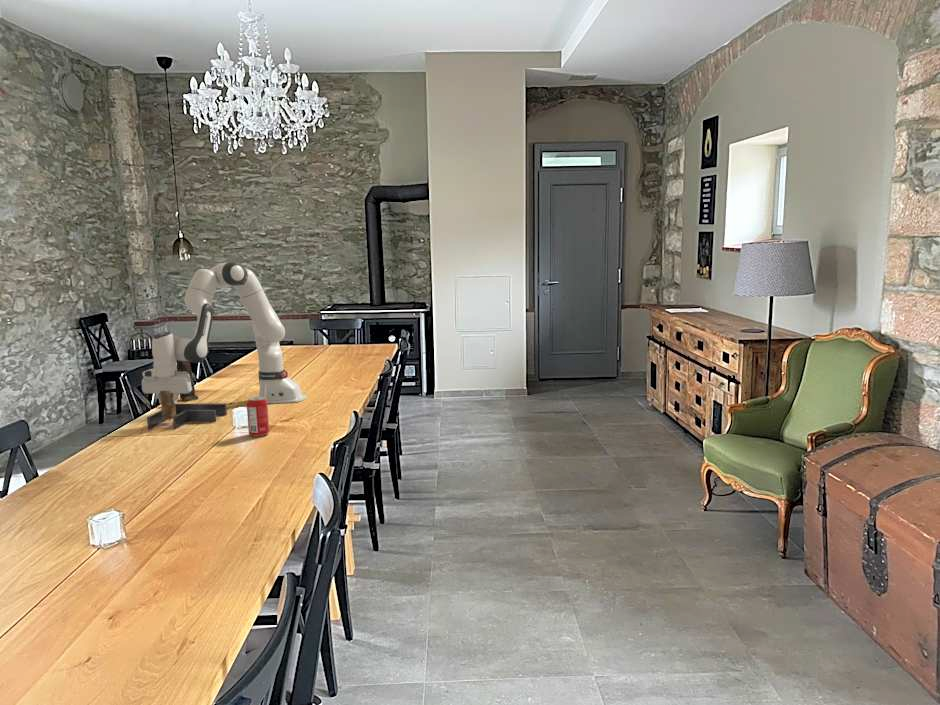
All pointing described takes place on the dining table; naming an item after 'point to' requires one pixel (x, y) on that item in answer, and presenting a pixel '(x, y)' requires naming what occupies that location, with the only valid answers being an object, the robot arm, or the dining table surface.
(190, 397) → the statue
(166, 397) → the walnut block
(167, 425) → the pad
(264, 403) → the soda can
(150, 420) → the channel
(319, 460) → the dining table surface
